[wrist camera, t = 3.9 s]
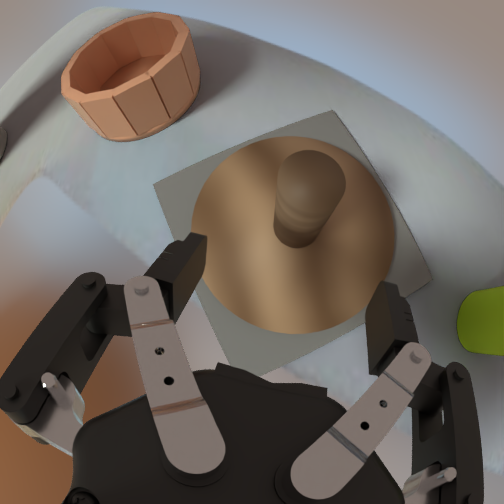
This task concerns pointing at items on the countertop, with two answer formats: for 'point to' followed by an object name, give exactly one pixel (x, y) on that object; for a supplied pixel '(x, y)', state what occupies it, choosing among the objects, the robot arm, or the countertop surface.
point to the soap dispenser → (482, 322)
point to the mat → (250, 336)
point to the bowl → (134, 77)
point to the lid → (294, 234)
